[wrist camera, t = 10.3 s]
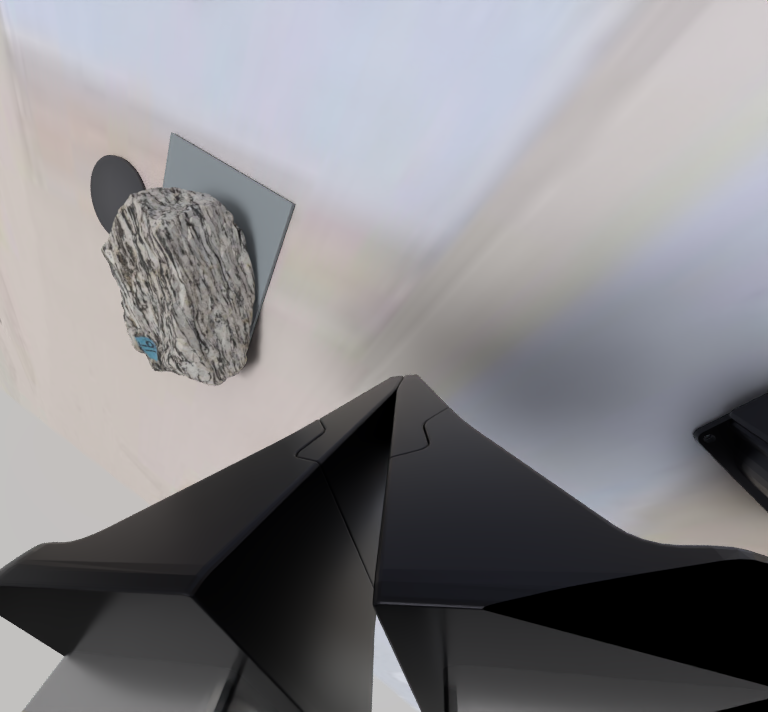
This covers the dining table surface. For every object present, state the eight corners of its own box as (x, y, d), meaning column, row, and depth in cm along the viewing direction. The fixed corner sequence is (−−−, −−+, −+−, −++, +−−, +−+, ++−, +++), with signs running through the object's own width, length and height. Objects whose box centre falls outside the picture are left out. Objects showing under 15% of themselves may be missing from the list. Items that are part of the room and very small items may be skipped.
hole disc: (158, 194, 27) (155, 193, 26) (134, 257, 30) (131, 257, 29) (106, 137, 27) (102, 136, 27) (87, 206, 30) (83, 205, 30)
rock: (188, 429, 25) (137, 366, 29) (279, 380, 30) (224, 334, 35) (102, 221, 15) (47, 175, 20) (259, 204, 20) (187, 172, 25)
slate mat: (295, 204, 23) (292, 203, 22) (241, 368, 29) (238, 369, 28) (174, 133, 24) (171, 132, 24) (148, 301, 30) (145, 301, 30)
